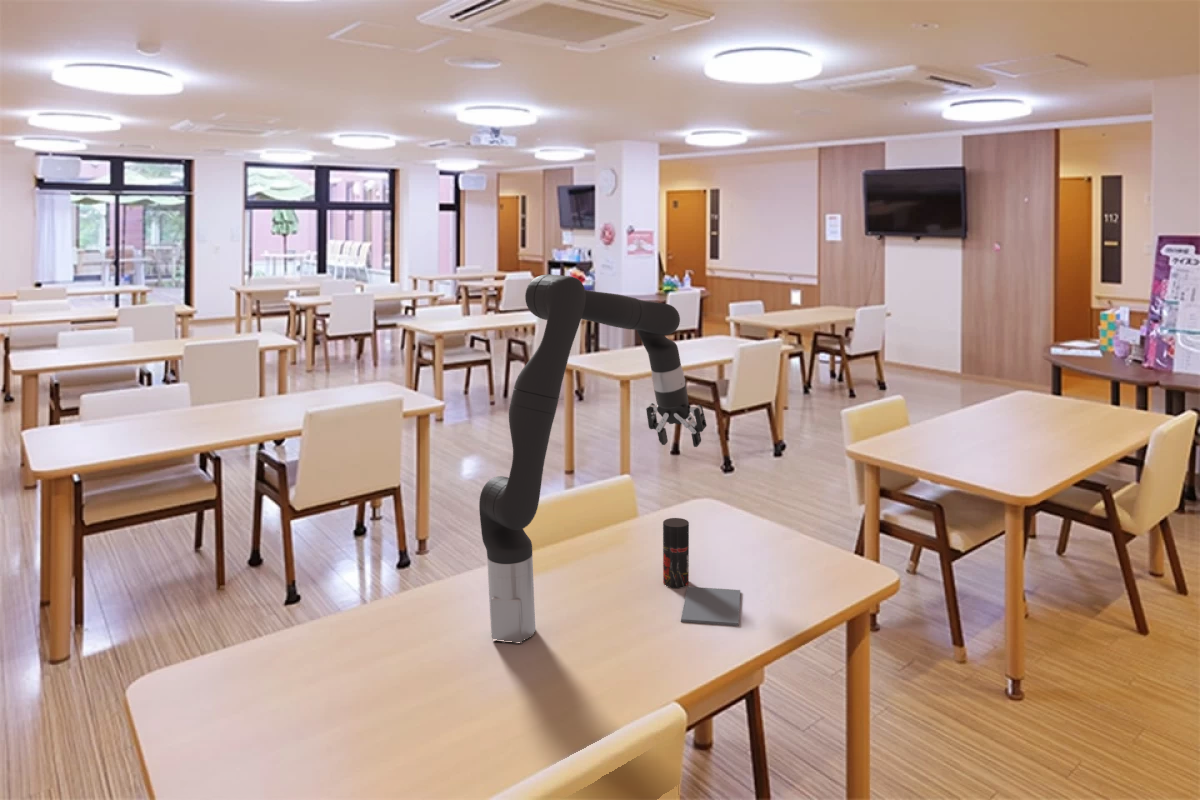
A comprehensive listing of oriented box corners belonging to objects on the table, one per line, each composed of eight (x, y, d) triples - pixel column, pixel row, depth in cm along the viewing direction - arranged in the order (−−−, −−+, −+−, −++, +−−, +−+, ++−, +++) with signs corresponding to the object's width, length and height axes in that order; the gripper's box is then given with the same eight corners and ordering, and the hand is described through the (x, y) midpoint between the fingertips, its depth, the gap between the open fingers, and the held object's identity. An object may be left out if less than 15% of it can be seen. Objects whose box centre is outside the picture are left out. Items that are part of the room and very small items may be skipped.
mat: (738, 625, 175) (738, 623, 175) (681, 621, 177) (681, 619, 177) (740, 592, 190) (740, 589, 190) (687, 589, 193) (687, 586, 193)
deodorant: (689, 588, 193) (689, 527, 190) (663, 588, 193) (663, 527, 190) (687, 577, 199) (687, 517, 196) (662, 577, 199) (662, 518, 196)
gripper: (635, 390, 197) (648, 450, 203) (690, 391, 190) (702, 453, 196) (649, 377, 203) (660, 435, 209) (703, 377, 196) (713, 438, 202)
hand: (680, 444), depth 203 cm, fingers open, 8 cm apart
